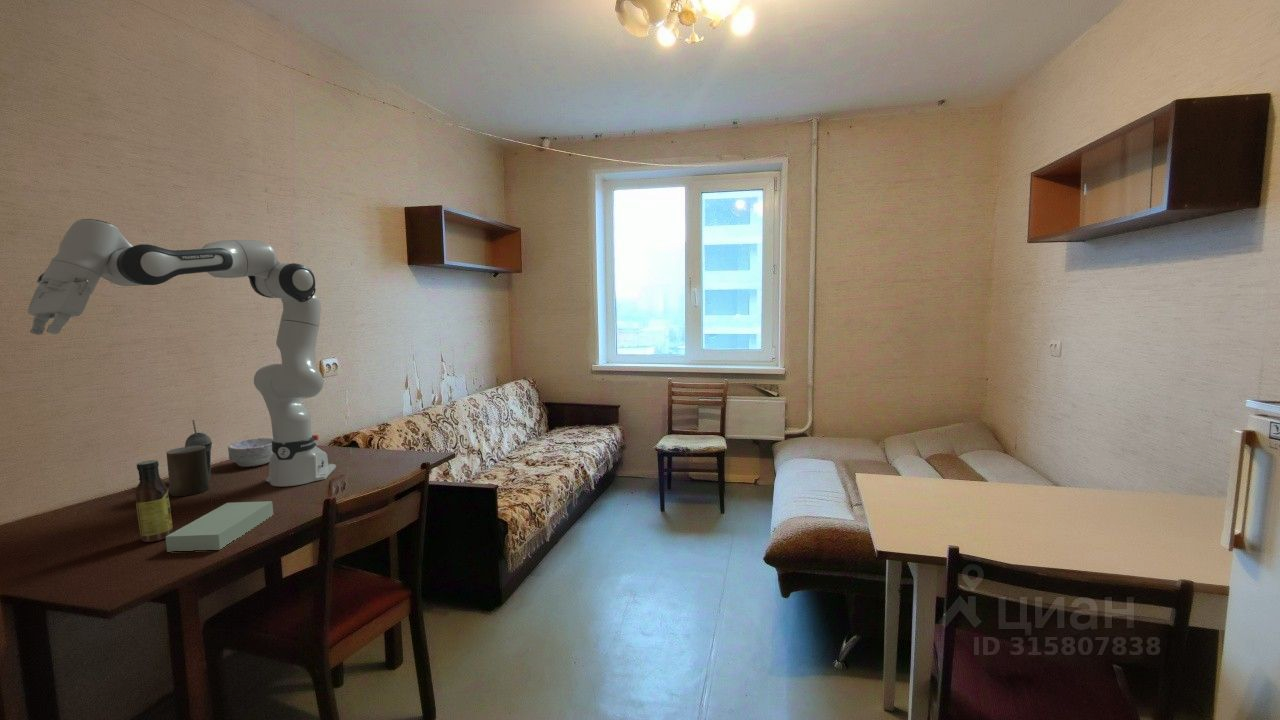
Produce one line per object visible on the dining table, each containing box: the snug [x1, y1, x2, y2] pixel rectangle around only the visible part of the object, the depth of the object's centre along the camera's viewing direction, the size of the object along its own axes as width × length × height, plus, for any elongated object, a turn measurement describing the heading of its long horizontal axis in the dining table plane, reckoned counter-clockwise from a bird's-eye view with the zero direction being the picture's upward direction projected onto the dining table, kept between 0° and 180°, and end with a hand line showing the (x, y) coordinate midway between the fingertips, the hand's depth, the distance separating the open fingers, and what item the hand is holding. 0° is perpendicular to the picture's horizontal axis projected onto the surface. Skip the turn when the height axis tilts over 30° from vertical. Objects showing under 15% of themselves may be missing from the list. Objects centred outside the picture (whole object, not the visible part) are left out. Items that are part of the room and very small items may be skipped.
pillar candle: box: [165, 444, 210, 497], centre depth 173 cm, size 10×10×15 cm
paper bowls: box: [227, 437, 273, 468], centre depth 203 cm, size 15×15×8 cm
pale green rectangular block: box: [165, 500, 274, 553], centre depth 142 cm, size 22×12×4 cm, turn 5°
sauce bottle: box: [134, 459, 173, 543], centre depth 138 cm, size 7×6×20 cm
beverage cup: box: [184, 419, 213, 478], centre depth 186 cm, size 7×7×20 cm
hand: (43, 333), depth 127 cm, fingers open, 8 cm apart
